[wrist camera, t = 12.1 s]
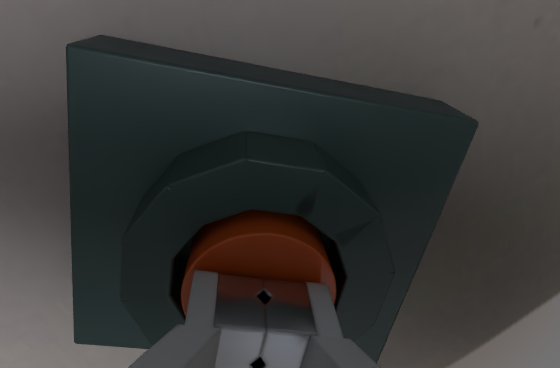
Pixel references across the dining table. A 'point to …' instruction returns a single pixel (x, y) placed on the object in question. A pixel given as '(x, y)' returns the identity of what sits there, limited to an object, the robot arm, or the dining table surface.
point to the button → (260, 250)
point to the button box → (243, 180)
